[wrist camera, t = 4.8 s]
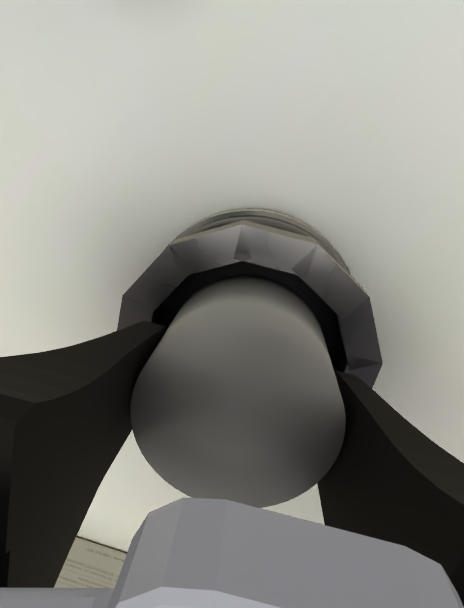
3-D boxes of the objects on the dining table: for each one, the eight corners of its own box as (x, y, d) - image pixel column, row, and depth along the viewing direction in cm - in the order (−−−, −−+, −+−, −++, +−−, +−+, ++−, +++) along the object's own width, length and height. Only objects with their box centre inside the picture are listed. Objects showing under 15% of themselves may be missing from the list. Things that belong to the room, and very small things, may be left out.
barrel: (316, 413, 19) (331, 496, 14) (138, 367, 19) (95, 435, 14) (381, 236, 16) (428, 267, 11) (173, 182, 16) (134, 191, 12)
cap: (296, 432, 14) (305, 530, 10) (156, 393, 14) (115, 478, 10) (346, 300, 12) (379, 360, 9) (187, 256, 12) (151, 297, 9)
